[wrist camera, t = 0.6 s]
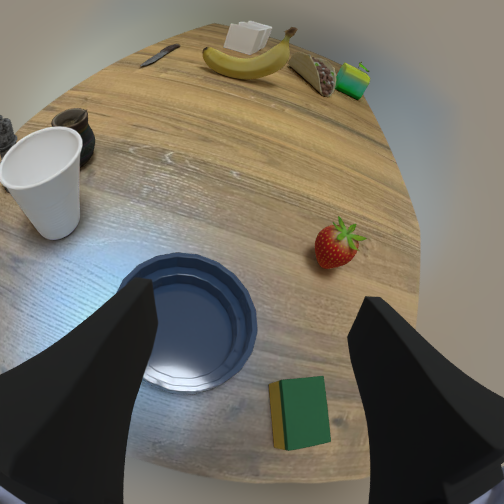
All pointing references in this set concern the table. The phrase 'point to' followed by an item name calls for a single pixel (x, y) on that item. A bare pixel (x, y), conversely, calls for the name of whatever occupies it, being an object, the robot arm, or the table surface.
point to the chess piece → (6, 137)
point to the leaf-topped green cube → (352, 80)
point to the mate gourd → (78, 129)
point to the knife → (161, 54)
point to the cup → (46, 179)
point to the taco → (315, 72)
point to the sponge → (299, 413)
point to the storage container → (247, 37)
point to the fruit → (336, 245)
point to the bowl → (196, 323)
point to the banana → (250, 61)
